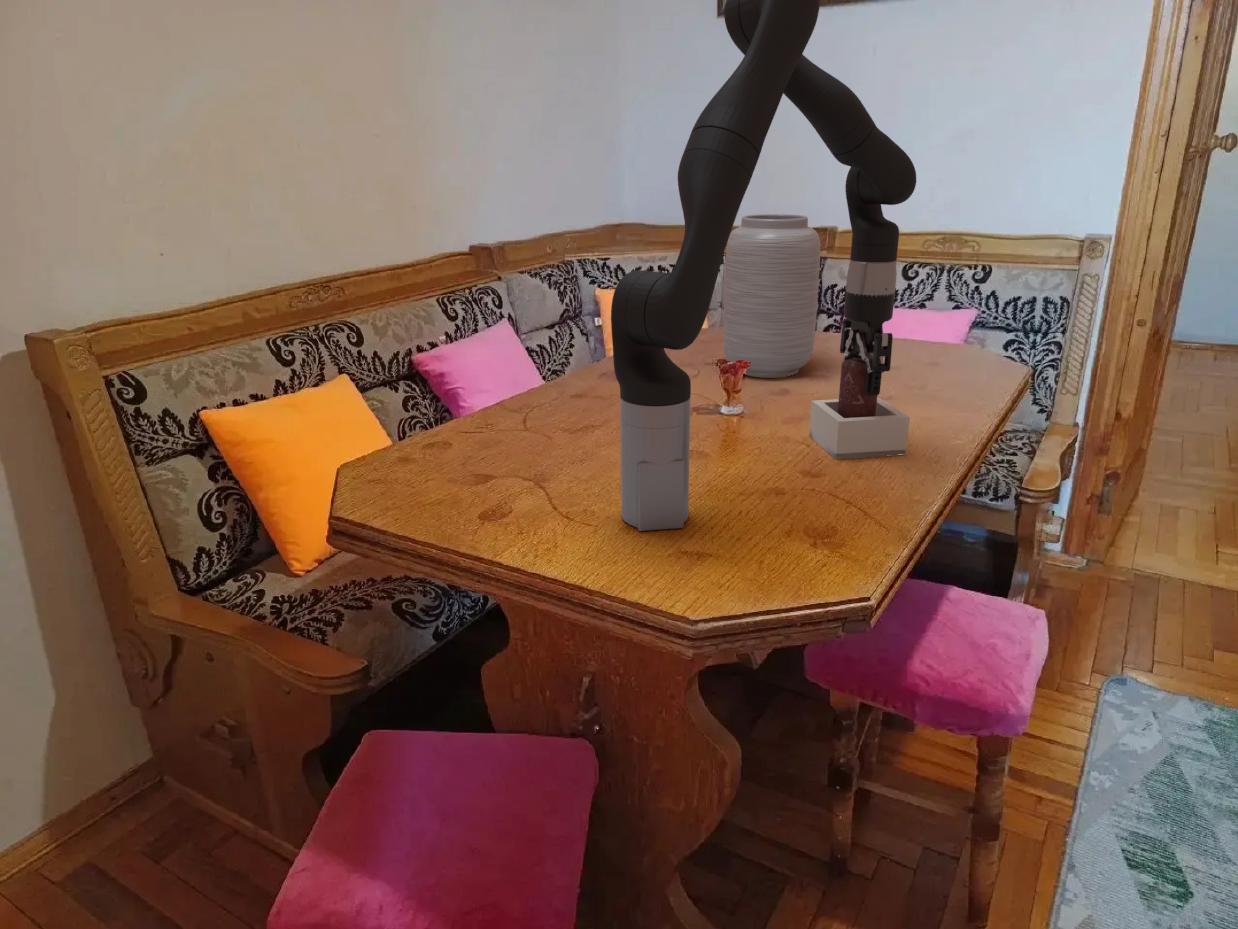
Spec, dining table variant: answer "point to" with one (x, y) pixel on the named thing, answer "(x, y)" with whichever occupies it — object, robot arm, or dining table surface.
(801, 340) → the vase
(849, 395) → the can
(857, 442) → the well
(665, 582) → the dining table surface
